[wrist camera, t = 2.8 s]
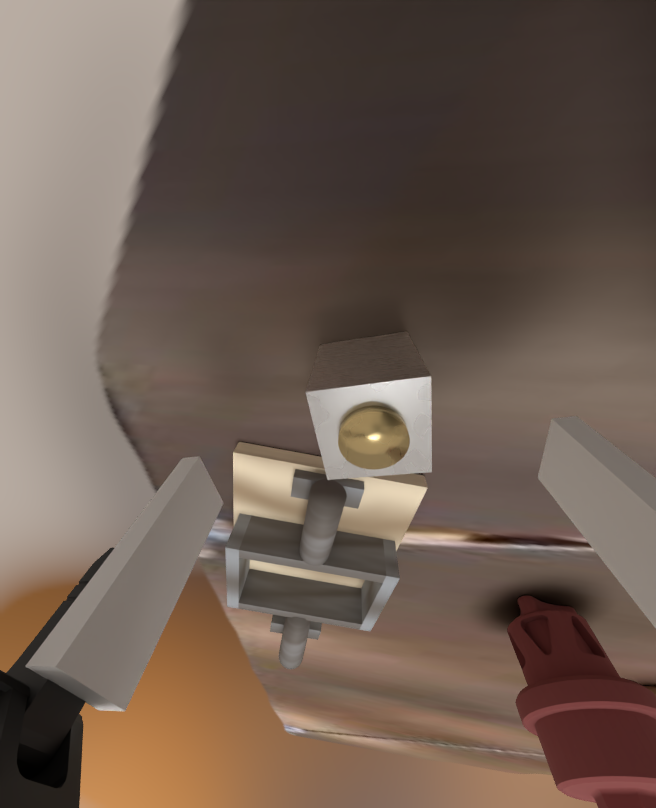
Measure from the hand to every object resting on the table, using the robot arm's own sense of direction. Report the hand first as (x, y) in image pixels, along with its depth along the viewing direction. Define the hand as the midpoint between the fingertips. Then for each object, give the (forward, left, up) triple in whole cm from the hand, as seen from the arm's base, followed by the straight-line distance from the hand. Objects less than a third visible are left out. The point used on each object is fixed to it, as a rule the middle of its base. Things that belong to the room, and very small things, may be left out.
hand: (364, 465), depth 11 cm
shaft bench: (+18, -1, -8) cm, 19 cm away
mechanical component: (+22, +23, -8) cm, 33 cm away
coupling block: (0, 0, -8) cm, 8 cm away
